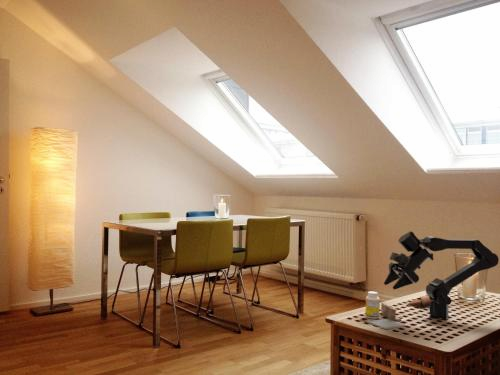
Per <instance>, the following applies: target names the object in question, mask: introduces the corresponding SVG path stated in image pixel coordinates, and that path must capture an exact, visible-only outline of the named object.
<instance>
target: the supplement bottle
mask: <svg viewBox="0 0 500 375" xmlns="http://www.w3.org/2000/svg"><path fill="white" fill-rule="evenodd" d="M380 302H381V299H380V297H379V292H378V291H372V290H371V291H370V290H369V291H368V292H367V296H366V297H365V317H366V318H368V319H370V320H371V319H373V320H378V319H379V318H380V312H381V310H380V306H381V305H380Z"/></svg>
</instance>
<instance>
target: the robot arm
mask: <svg viewBox="0 0 500 375" xmlns="http://www.w3.org/2000/svg"><path fill="white" fill-rule="evenodd" d="M398 243H399V244H400V245H401V246H402V248H404V249H405V251H406V252H408V253H410V252H411V254H410V255H407V254H404V253H403V252H402V253H401V252H400V253H397V252H394V251H392V253H391V255H390V257H389V260H391V261H393V262H390V263H389V264H388V271H389V272H388V274H387V276H386V279H385V280H384V282H383V284H384V285H385V286H387V285H390V284H391V283H393V282H395V281H396V282H395V283H394V284H393V286H392V289H393V290H398V289H401V288H403V287H406V286H409V285H413V284H417V283H418V282H419V280H420V276H419V275H418V274H417V273H416V272H415V271H417V269H418V270H420V269H421V265H423V263H425V262H426V260H427V259H428V260H430V261H434V253H431V252H439V251H445V250H450V249H454V250H456V249H459V250H471V252H472V253H473V255H474V258H473V259H472V261H471V262H469V263H468V264H467V265H465V266H463V267H461V268H460V269H458V270H457V271H455V272H454V273H452V274H451V275H448V276H447V277H446V278H443V279H440V278H439V277H436V278H434V279H433V280H432V281H429V282H428V284H427V285H426V286H425V293H426V296H427V295H428V296H429V298H430V300H432V301H431V304H430V305H429V318H434V319H439V320H443V321H445V320H447V319H448V318H450V315H449V306H450V305H451V303H452V298H451V297H450V296H449V295H450V292H451V290H452V289H453V288H455V287H457V286H458V285H460V284H461V283H463V282H465V281H466V280H468V279H470V278H472V276H473V277H474V275H476V274H478V273H479V272H481V271H485V270H489V269H492V268H494V267H496V266H498V264H499V261H500V260H499V256H498V255H497V254H496V253H494V252H492V250H490V249H489V248H488V247H487V246H486V245H484V243H482V241H480V240H479V239H475V238H474V239H473V238H470V239H458V238H457V239H454V238H452V239H451V238H447V239H445V238H441V237H436V236H431V235H428V236H427V235H426V236H425V237H424V238H421V239H419V238H418V237H417V236H416V235H415V233H414V232H413V231H411V230H409V232H406V233H404V234H402V235H401V236H400V237H399V239H398ZM430 251H431V252H430Z"/></svg>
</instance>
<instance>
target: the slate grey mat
mask: <svg viewBox="0 0 500 375" xmlns="http://www.w3.org/2000/svg"><path fill="white" fill-rule="evenodd" d="M366 323H367V324H369V325H372V326H375V327H377V328H380V329H384V330H391V329H392V330H393V329H397V328H405V327H406V324H403V323H401V322H399V321H392V320H390V319H388V318H381V319H373V320H367V321H366Z"/></svg>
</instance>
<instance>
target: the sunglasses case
mask: <svg viewBox="0 0 500 375" xmlns="http://www.w3.org/2000/svg"><path fill="white" fill-rule="evenodd" d="M431 301H432V300H430V298H429V296H428V295H427V294H426V295H425V296H420V297H417V299H414V300H412V301H410V302H408V303H406V306H409V307H414V308H419V309H423V308H424V309H425V307H428V306H430V305H431Z"/></svg>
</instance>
